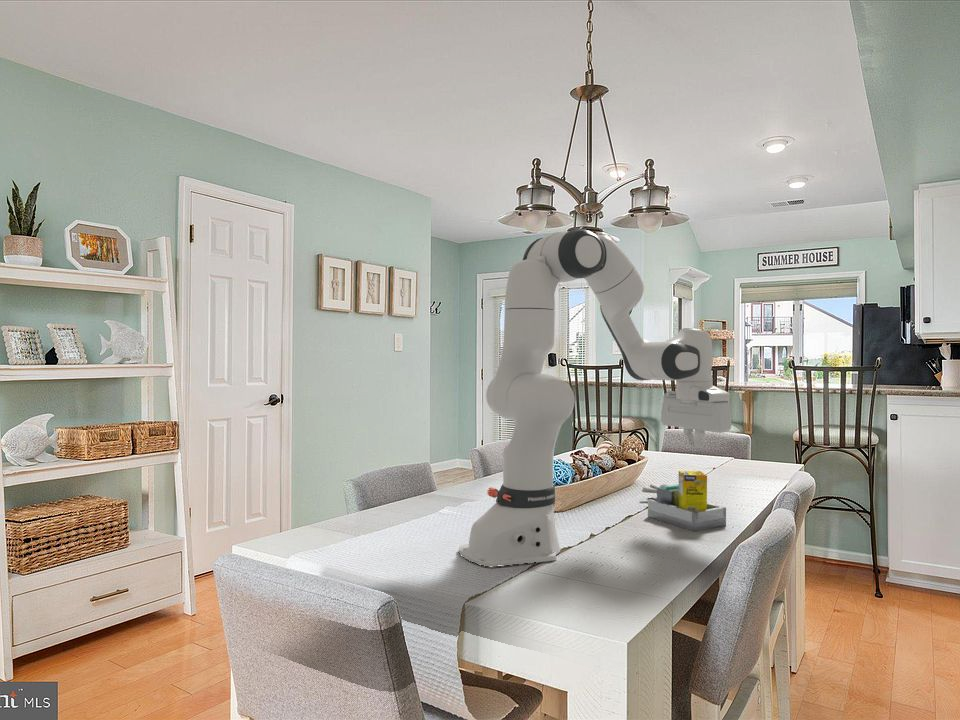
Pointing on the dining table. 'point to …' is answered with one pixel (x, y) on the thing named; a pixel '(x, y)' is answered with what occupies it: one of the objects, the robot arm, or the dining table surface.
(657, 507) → the tray
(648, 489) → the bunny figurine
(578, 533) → the dining table surface
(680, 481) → the supplement box
